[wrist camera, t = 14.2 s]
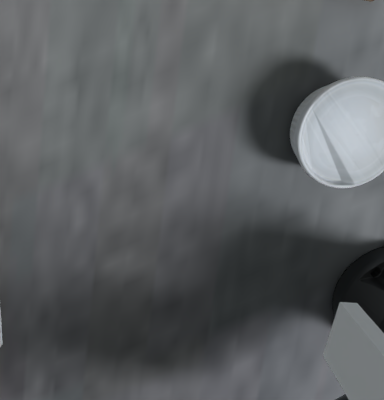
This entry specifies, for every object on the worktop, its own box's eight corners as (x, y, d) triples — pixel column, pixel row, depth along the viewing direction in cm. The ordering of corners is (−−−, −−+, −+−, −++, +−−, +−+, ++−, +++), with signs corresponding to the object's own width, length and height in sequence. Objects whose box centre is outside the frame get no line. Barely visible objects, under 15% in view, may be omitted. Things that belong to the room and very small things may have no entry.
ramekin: (263, 154, 39) (278, 165, 34) (311, 58, 36) (335, 55, 31) (343, 189, 42) (368, 204, 37) (394, 102, 38) (429, 105, 34)
